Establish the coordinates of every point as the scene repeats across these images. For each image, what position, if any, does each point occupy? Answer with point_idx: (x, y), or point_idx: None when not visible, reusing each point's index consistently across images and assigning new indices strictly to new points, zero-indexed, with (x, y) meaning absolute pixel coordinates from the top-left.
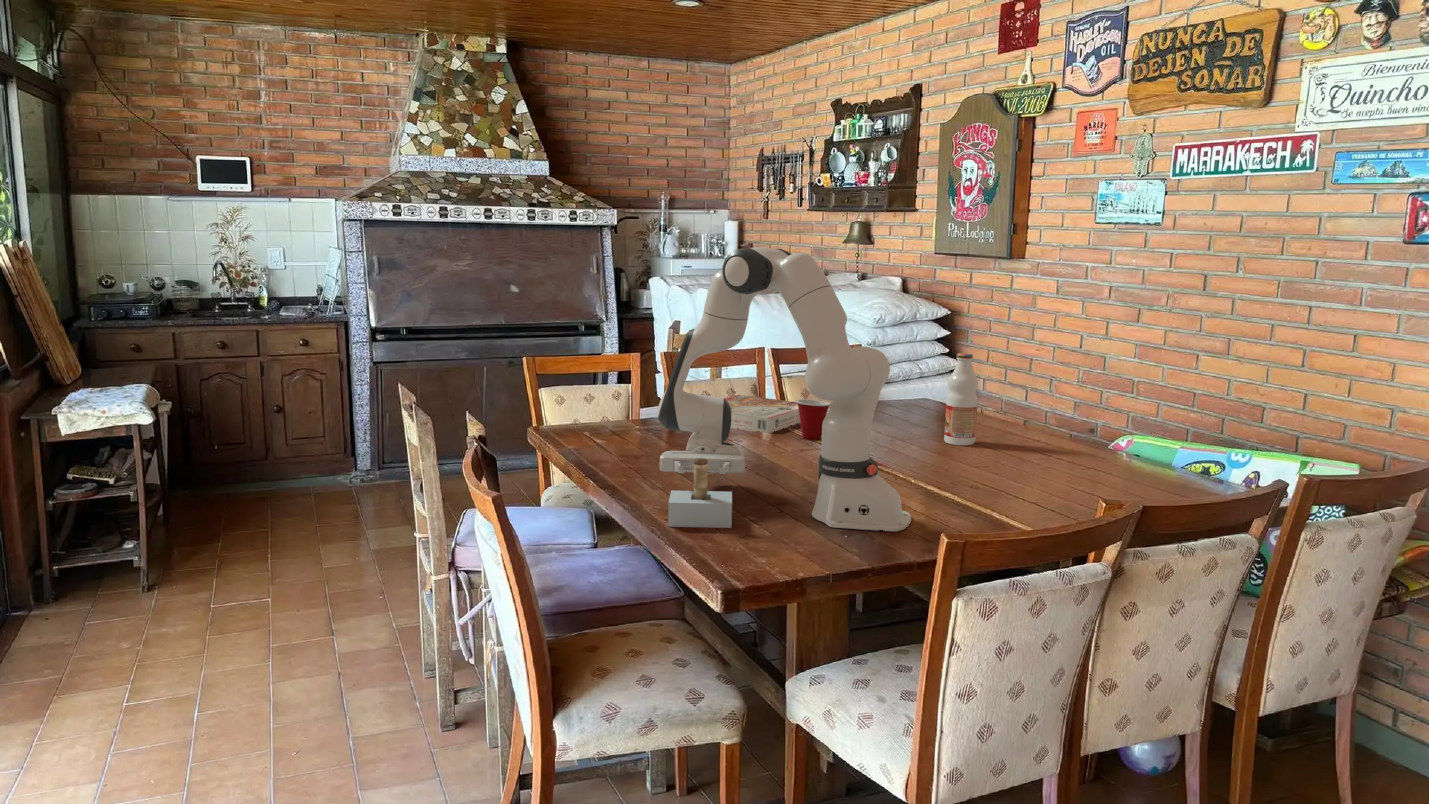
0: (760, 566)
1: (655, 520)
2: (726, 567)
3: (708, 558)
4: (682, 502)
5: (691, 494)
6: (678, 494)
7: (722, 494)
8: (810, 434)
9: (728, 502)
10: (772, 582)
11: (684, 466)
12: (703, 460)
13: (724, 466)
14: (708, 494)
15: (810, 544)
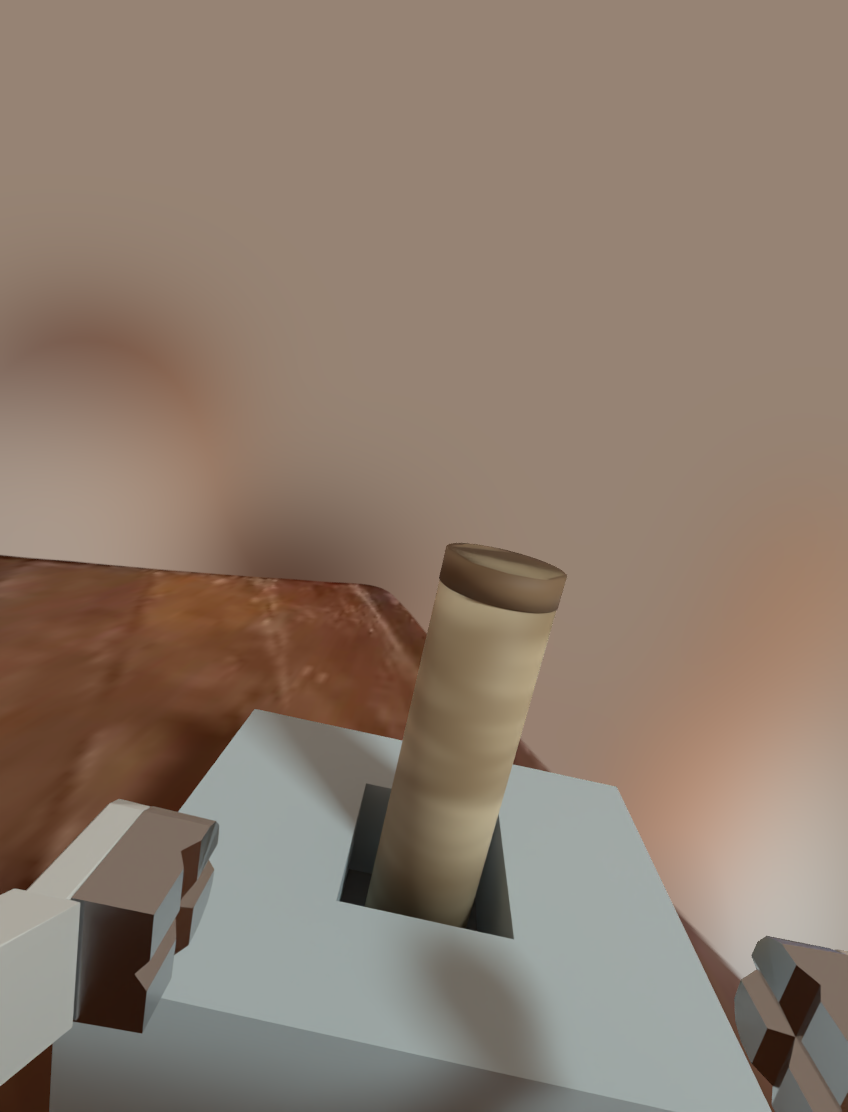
0: (287, 611)
1: None
2: (364, 623)
3: (399, 654)
4: (538, 775)
5: (513, 927)
6: (628, 947)
7: (226, 884)
8: None
9: (264, 727)
10: (294, 580)
11: (812, 1020)
12: (479, 551)
13: (107, 819)
14: (357, 908)
15: (35, 647)
